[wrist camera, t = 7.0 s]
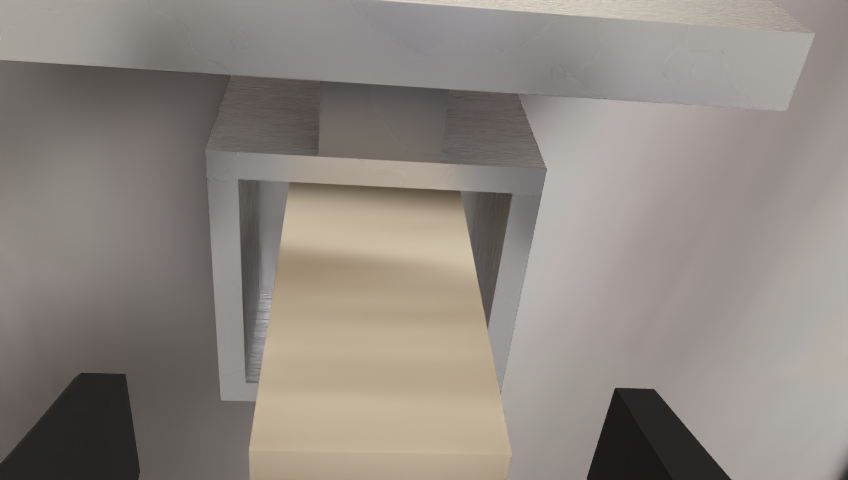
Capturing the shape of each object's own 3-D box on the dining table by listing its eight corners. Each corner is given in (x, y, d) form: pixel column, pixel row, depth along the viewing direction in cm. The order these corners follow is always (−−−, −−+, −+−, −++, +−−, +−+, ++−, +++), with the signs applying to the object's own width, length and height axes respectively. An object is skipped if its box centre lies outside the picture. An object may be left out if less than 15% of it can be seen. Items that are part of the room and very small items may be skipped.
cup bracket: (586, 256, 21) (660, 443, 16) (123, 236, 20) (37, 432, 15) (670, -75, 17) (815, 34, 11) (74, -128, 16) (-78, -35, 10)
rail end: (436, 275, 18) (477, 603, 12) (294, 269, 18) (254, 604, 11) (452, 151, 16) (512, 455, 10) (295, 142, 16) (248, 450, 10)
